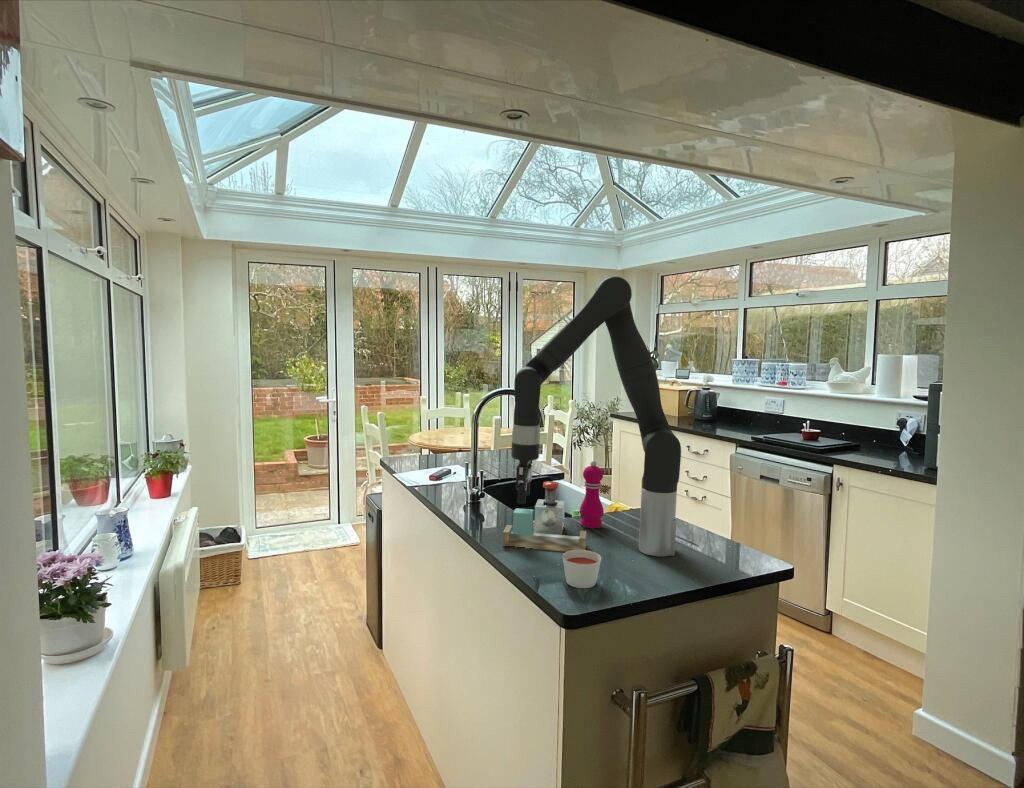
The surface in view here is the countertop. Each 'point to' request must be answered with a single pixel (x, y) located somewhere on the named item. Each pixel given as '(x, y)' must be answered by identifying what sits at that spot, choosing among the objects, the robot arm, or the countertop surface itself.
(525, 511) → the teal block
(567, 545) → the rail
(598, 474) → the pepper mill
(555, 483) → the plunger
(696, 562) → the countertop surface
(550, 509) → the gauge cabinet
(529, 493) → the robot arm
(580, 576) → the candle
